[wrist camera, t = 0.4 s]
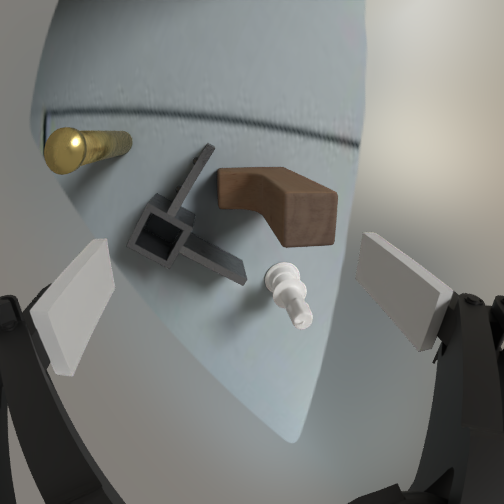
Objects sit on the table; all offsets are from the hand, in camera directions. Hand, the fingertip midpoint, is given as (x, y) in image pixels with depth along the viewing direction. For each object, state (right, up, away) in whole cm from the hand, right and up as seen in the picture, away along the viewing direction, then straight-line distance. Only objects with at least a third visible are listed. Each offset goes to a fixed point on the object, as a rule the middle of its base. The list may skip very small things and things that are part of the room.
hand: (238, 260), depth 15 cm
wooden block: (+1, +9, +24) cm, 26 cm away
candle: (+5, -3, +30) cm, 31 cm away
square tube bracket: (-5, +6, +25) cm, 26 cm away
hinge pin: (-16, +15, +20) cm, 29 cm away
